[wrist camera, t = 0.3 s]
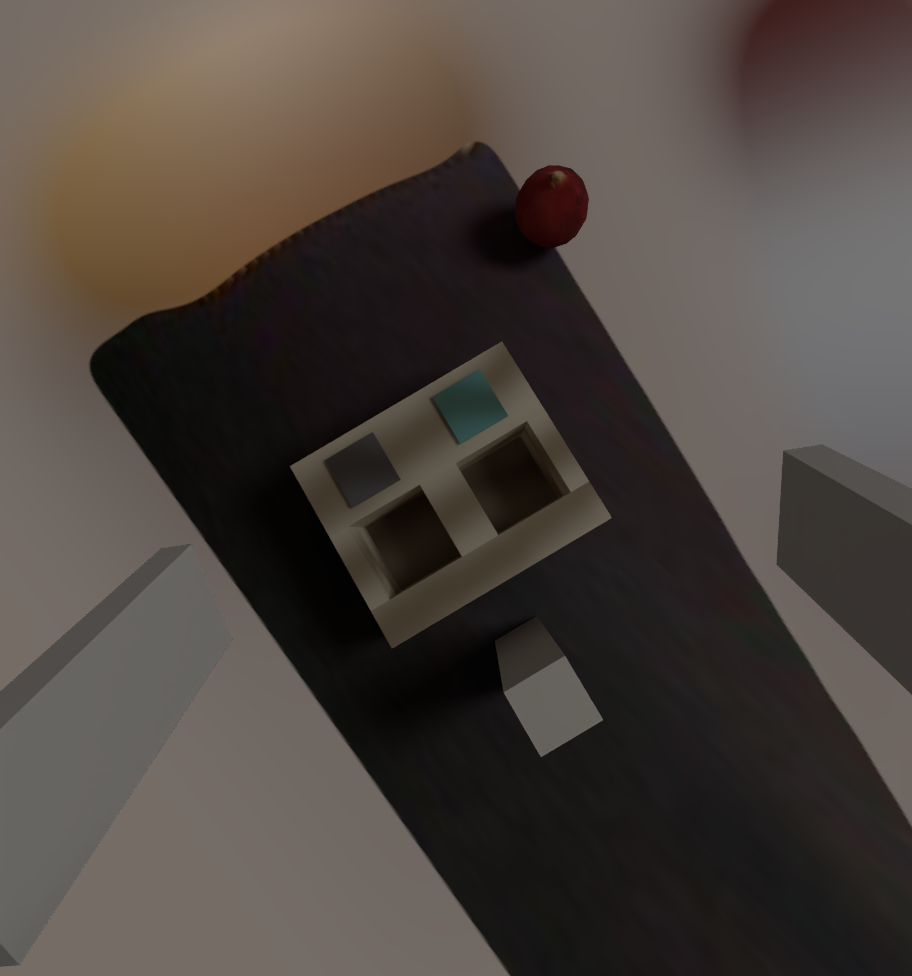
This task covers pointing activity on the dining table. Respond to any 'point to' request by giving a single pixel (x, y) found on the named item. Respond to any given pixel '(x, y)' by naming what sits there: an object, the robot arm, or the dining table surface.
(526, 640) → the plug
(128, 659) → the robot arm
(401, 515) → the socket board
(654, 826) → the dining table surface
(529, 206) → the onion
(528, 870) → the dining table surface
